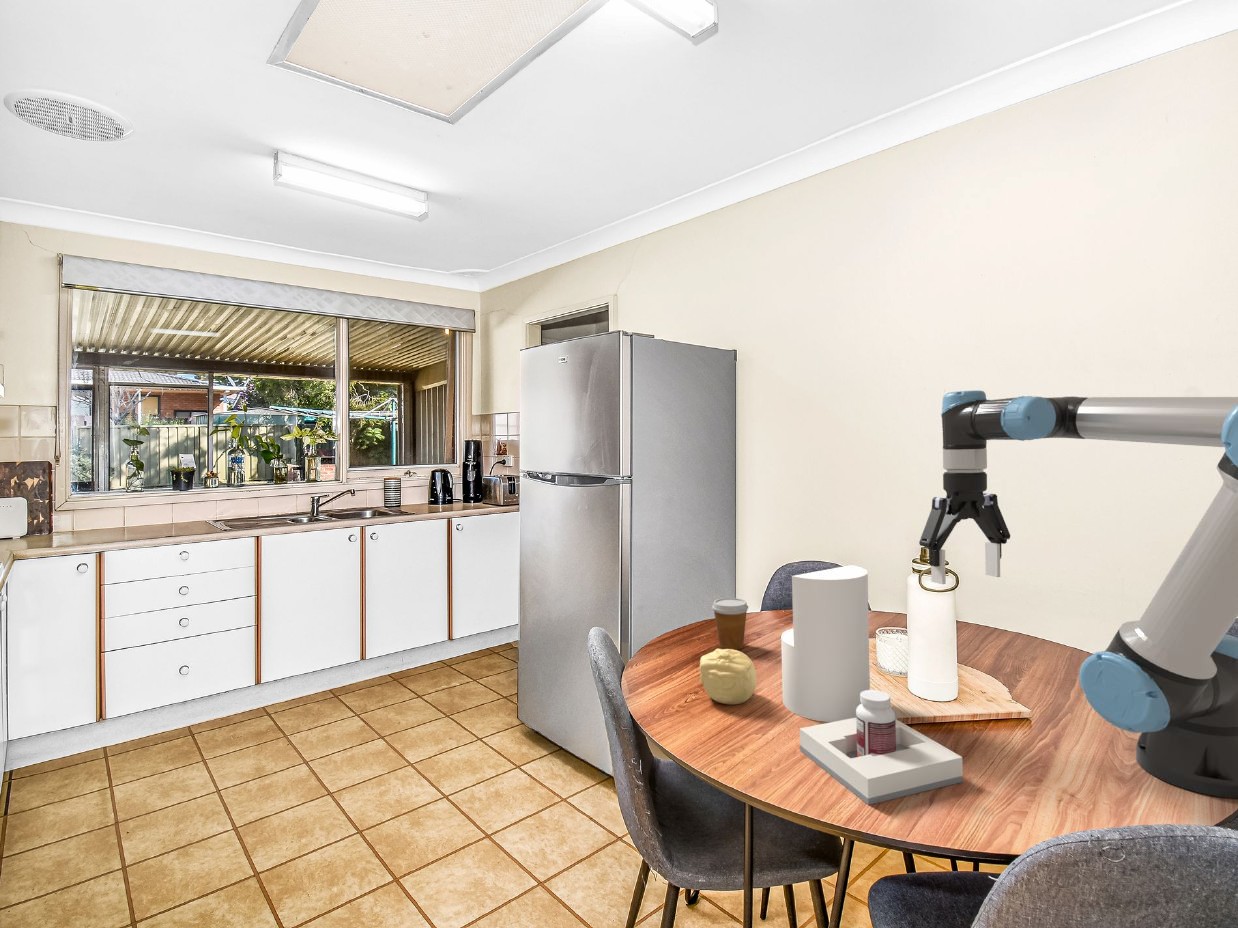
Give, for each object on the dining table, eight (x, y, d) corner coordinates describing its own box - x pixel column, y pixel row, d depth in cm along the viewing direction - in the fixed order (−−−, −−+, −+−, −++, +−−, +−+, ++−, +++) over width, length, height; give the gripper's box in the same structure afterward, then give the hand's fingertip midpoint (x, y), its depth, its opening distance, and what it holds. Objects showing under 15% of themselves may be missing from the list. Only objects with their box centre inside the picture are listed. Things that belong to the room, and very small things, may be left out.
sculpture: (694, 704, 134) (692, 654, 134) (713, 684, 145) (712, 637, 144) (747, 714, 129) (746, 661, 128) (763, 692, 139) (762, 643, 139)
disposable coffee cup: (710, 651, 167) (709, 605, 167) (716, 639, 176) (714, 596, 176) (747, 653, 164) (746, 607, 164) (751, 641, 173) (749, 598, 173)
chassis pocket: (883, 733, 119) (883, 711, 119) (962, 781, 102) (962, 757, 101) (800, 750, 113) (799, 728, 113) (868, 804, 96) (867, 778, 96)
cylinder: (889, 708, 129) (886, 571, 128) (828, 730, 121) (825, 583, 119) (823, 681, 144) (820, 558, 143) (765, 699, 136) (762, 568, 135)
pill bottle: (902, 758, 107) (901, 694, 107) (886, 773, 103) (885, 706, 103) (867, 746, 112) (866, 684, 111) (850, 759, 108) (849, 695, 107)
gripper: (997, 467, 131) (998, 569, 132) (898, 473, 124) (900, 581, 124) (1030, 468, 124) (1031, 576, 125) (928, 475, 116) (929, 590, 117)
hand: (966, 579), depth 125 cm, fingers open, 13 cm apart
